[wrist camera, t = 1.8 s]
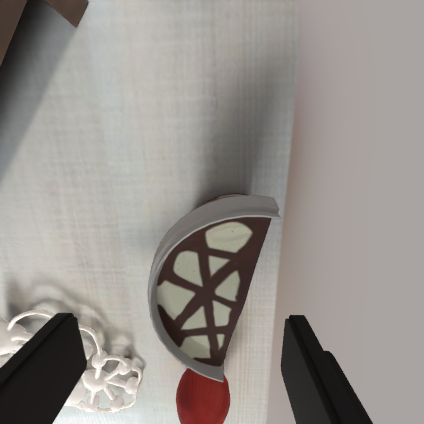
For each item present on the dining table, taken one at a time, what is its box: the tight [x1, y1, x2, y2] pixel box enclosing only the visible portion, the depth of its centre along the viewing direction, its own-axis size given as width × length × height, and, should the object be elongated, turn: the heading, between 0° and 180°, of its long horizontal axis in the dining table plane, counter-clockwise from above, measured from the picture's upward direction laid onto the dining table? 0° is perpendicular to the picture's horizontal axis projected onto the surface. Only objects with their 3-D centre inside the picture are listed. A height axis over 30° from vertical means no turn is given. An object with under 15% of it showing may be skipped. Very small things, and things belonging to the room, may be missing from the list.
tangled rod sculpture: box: [0, 310, 142, 413], centre depth 24 cm, size 19×14×4 cm
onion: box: [176, 368, 230, 424], centre depth 22 cm, size 6×6×8 cm
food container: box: [148, 194, 281, 382], centre depth 16 cm, size 12×6×10 cm, turn 167°
